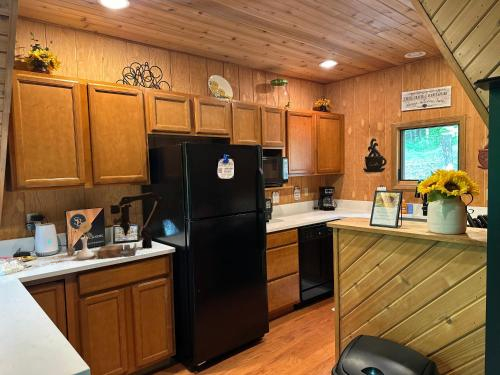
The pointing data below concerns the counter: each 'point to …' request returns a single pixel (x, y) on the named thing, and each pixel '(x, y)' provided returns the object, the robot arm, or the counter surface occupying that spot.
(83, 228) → the flower in vase
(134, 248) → the grey jagged bowl
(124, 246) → the riser
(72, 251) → the reed diffuser
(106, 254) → the housing
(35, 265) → the counter surface
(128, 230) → the coaster
